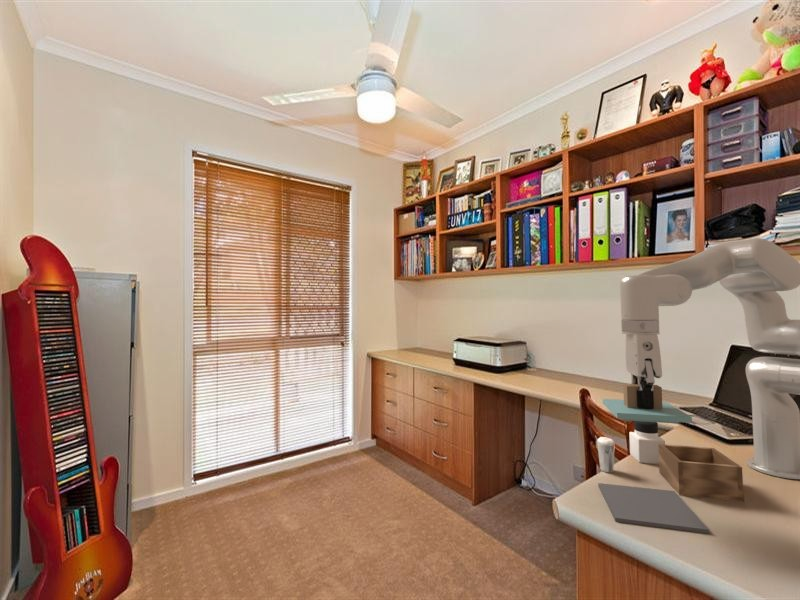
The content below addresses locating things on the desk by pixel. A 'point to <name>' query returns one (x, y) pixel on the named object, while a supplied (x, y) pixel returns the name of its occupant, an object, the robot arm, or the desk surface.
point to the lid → (632, 413)
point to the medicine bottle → (645, 442)
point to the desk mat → (650, 508)
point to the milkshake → (606, 454)
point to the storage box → (701, 472)
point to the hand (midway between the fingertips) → (642, 405)
